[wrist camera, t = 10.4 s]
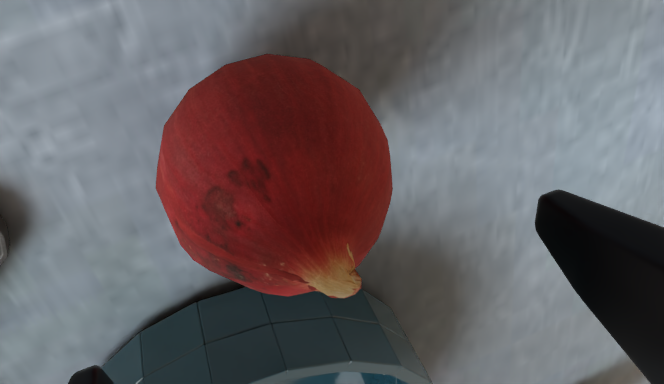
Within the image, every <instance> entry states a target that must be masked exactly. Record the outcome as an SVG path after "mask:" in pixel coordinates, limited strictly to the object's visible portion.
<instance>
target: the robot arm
mask: <svg viewBox="0 0 664 384" xmlns="http://www.w3.org/2000/svg"><path fill="white" fill-rule="evenodd" d="M535 228H536V231H537V233H538V235H539V237H540V238H541V240H542V241H543V243H544V244H545V246H546V247H547V249H548V250H549V252H550V253H551V255H552V256H553V258H554V259H555V261H556V263H557V264H558V266H559V267H560V269H561V270H562V272H563V273H564V275H565V276H566V278H567V279H568V281H569V282H570V284H571V285H572V287H573V288H574V290H575V291H576V292H577V294H578V295H579V296H580V298H581V299H582V300H583V301H584V303H585V304H586V305H587V306H588V308H589V309H590V310H591V311H592V312H593V314H594V315H595V316H596V317H597V318H598V320H599V321H600V322H601V323H602V325H603V326H604V327H605V328H606V329H607V331H608V332H609V333H610V334H611V336H612V337H613V338H614V339H615V340H616V342H617V343H618V344H619V345H620V346H621V348H622V349H623V350H624V351H625V353H626V354H627V355H628V356H629V357H630V359H631V360H632V361H633V362H634V364H635V365H636V366H637V367H638V368H639V370H640V371H641V372H642V373H643V374H644V376H645V377H646V378H647V379H648V381H649V382H650V383H651V384H664V227H661V226H658V225H656V224H653V223H650V222H647V221H645V220H642V219H639V218H637V217H634V216H631V215H628V214H626V213H623V212H620V211H618V210H615V209H612V208H609V207H607V206H604V205H601V204H598V203H596V202H593V201H590V200H588V199H585V198H582V197H579V196H577V195H574V194H571V193H569V192H566V191H563V190H554V191H551V192H549V193H546V194H544V195H542V196H540V198H539V200H538V206H537V212H536V219H535ZM68 384H114V383H113V381H112V380H111V379H110V378H109V377H108V375H107V374H106V373H105V372H104V371H103V369H102V368H101V367H100V366H97V365H94V366H91V367H88V368H86V369H83V370H81V371H78V372H76V373H75V374H74V375H73V376H72V377H71V379H70V381H69V383H68Z"/></svg>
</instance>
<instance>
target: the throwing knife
mask: <svg viewBox="0 0 664 384" xmlns="http://www.w3.org/2000/svg"><path fill="white" fill-rule="evenodd" d="M9 246H10V240H9V235H8V229H7V225H6V223H5V222H4V220H3V219H2V217H1V215H0V266H1V264H2V263H3V262H4V260H5V259H6V257H7V256H8V251H9Z"/></svg>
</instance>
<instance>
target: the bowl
mask: <svg viewBox="0 0 664 384" xmlns="http://www.w3.org/2000/svg"><path fill="white" fill-rule="evenodd" d="M101 368H102V369H103V371H104V372H105V373H106V374H107V375H108V377H109V378H110V379H111V380H112V381H113V383H114V384H433V383H432V381H431V380H430V378H429V376H428V374H427V372H426V371H425V369H424V367H423V365H422V363H421V362H420V360H419V358H418V356H417V355H416V353H415V351H414V349H413V347H412V346H411V344H410V342H409V340H408V338H407V337H406V335H405V333H404V331H403V330H402V328H401V326H400V324H399V322H398V321H397V319H396V317H395V315H394V313H393V312H392V310H391V308H390V307H389V306H387V305H385V304H384V303H382V302H381V301H379V300H378V299H376V298H375V297H373V296H372V295H370V294H368V293H367V292H365V291H364V290H362V289H360V290H359V291H358V292H357V293H356V294H355V295H352V296H350V297H347V298H331V297H329V296H327V295H326V294H324V293H323V292H320V291H312V292H308V293H303V294H298V295H293V296H280V295H273V294H266V293H262V292H259V291H256V290H253V289H250V288H248V287H244V288H241V289H237V290H234V291H230V292H227V293H224V294H220V295H217V296H214V297H210V298H207V299H204V300H200V301H198V302H194V303H193V304H191V305H189V306H187V307H185V308H183V309H182V310H180V311H178V312H176V313H174V314H172V315H170V316H169V317H167V318H165V319H163V320H161V321H159V322H158V323H156V324H154V325H152V326H150V327H148V328H147V329H145V330H143V331H141V333H138V334H137V335H136V336H135V337H134V338H133V339H132V340H131V341H130V342H128V343H127V344H126V345H125V346H124V347H123V348H122V349H121V350H120V351H119V352H117V353H116V354H115V355H114V356H113V357H112V358H111V359H110V360H109V361H108V362H107V363H105V364H104V365H103V366H102V367H101Z"/></svg>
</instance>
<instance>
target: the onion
mask: <svg viewBox="0 0 664 384" xmlns="http://www.w3.org/2000/svg"><path fill="white" fill-rule="evenodd" d="M392 189H393V188H392V175H391V162H390V153H389V147H388V140H387V138H386V136H385V133H384V131H383V129H382V127H381V125H380V123H379V121H378V119H377V118H376V116H375V115H374V113H373V111H372V110H371V108H370V106H369V105H368V103H367V102H366V100H365V98H364V97H363V95H362V94H361V92H360V90H359V89H358V88H356V87H354V86H353V85H351V84H350V83H348V82H347V81H345V80H344V79H342V78H340V77H339V76H337V75H336V74H334V73H333V72H331V71H330V70H328V69H327V68H325V67H323V66H322V65H320V64H318V63H316V62H314V61H313V60H311V59H306V58H298V57H289V56H281V55H272V54H265V55H261V56H257V57H253V58H249V59H246V60H242V61H238V62H234V63H230V64H226V65H224V66H223V67H221V68H220V69H219V70H217V71H216V72H214V73H213V74H211V75H210V76H208V77H207V78H205V79H204V80H202V81H201V82H199V83H198V84H196V85H195V86H193V87H192V88H190V89H189V90H188V92H187V93H186V95H185V96H184V98H183V99H182V100H181V102H180V103H179V105H178V106H177V108H176V109H175V111H174V112H173V114H172V115H171V116H170V118H169V119H168V121H167V122H166V124H165V125H164V130H163V136H162V142H161V148H160V154H159V160H158V166H157V178H156V190H157V192H158V194H159V197H160V199H161V201H162V204H163V206H164V209H165V211H166V213H167V215H168V218H169V220H170V222H171V224H172V227H173V229H174V231H175V233H176V236H177V238H178V240H179V242H180V245H181V246H182V247H183V248H184V249H185V251H186V252H187V253H188V254H189V255H190V256H191V258H192V259H193V260H194V261H196V262H197V263H199V264H201V265H202V266H204V267H205V268H207V269H208V270H210V271H212V272H214V273H217V274H219V275H221V276H223V277H226V278H228V279H230V280H232V281H235V282H237V283H239V284H241V285H244V286H246V287H248V288H250V289H253V290H256V291H259V292H262V293H266V294H273V295H280V296H293V295H298V294H303V293H308V292H312V291H320V292H323V293H324V294H326V295H327V296H329V297H331V298H347V297H350V296H352V295H355V294H356V293H357V292H358V291H359V290H360V289H361V284H362V279H361V277H360V276H359V275H358V273H357V272H356V270H355V268H356V267H357V266H359V265H360V263H361V262H362V260H363V259H364V258H365V256H366V255H367V253H368V252H369V251H370V249H371V248H372V246H373V245H374V243H375V242H376V241H377V239H378V237H379V235H380V232H381V230H382V227H383V223H384V220H385V217H386V214H387V211H388V208H389V205H390V201H391V195H392Z"/></svg>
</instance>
